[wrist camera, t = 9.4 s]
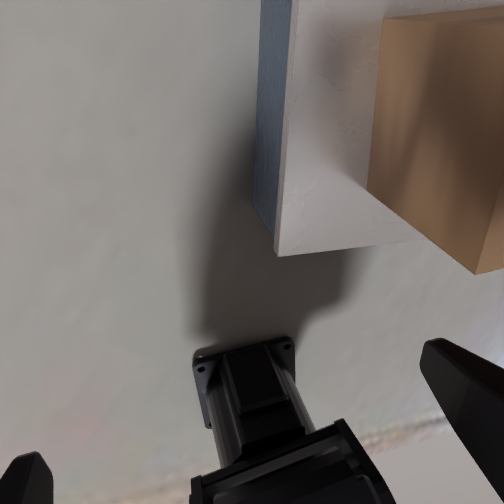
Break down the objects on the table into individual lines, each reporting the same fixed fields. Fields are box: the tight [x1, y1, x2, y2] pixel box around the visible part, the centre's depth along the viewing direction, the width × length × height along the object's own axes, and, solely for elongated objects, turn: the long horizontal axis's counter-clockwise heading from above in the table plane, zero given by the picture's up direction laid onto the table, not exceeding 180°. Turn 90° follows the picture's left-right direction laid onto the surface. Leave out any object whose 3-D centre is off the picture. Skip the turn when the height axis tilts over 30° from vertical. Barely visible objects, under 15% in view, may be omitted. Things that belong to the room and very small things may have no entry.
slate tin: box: [253, 0, 504, 257], centre depth 17 cm, size 12×12×5 cm
